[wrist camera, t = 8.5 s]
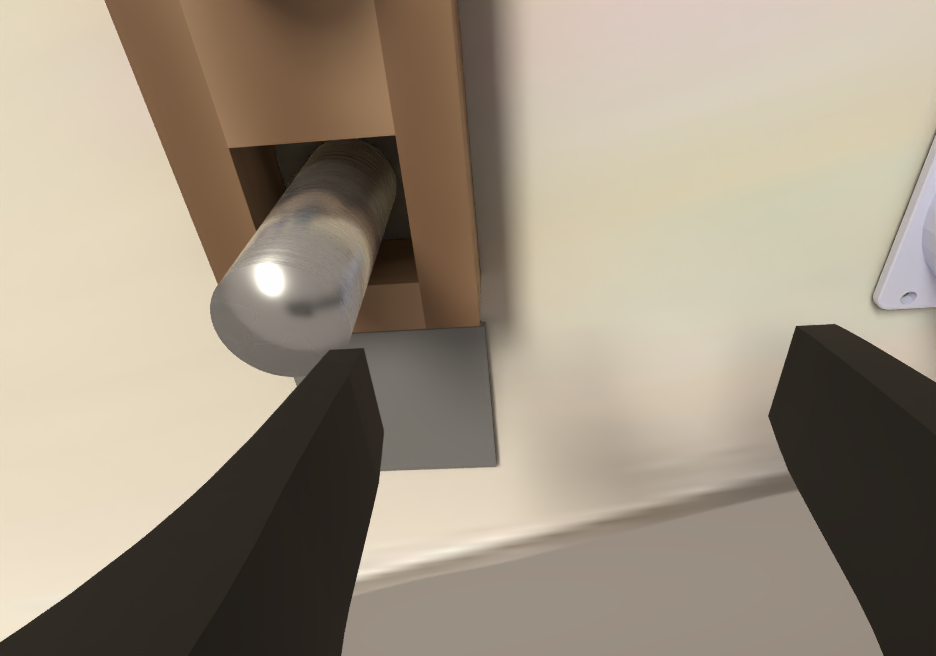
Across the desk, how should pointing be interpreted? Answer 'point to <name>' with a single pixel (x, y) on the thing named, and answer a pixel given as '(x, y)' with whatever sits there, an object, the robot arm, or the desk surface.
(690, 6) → the desk surface
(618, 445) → the desk surface
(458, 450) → the rubber mat
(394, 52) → the walnut hole block
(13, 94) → the desk surface
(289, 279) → the steel pin
